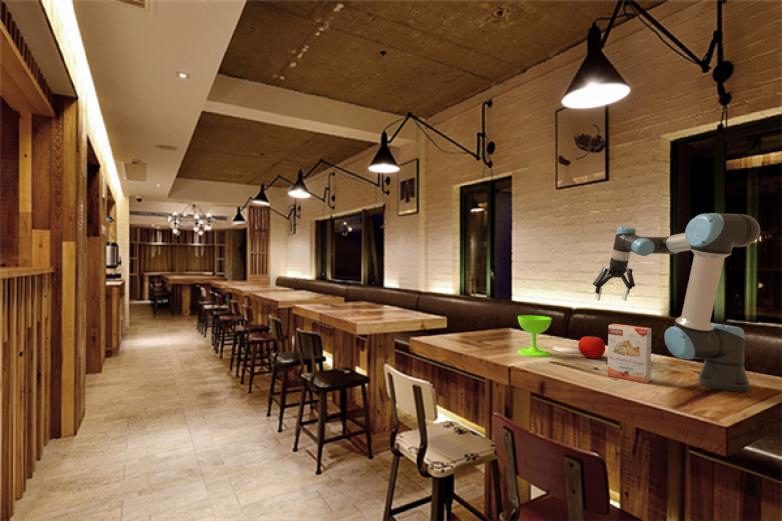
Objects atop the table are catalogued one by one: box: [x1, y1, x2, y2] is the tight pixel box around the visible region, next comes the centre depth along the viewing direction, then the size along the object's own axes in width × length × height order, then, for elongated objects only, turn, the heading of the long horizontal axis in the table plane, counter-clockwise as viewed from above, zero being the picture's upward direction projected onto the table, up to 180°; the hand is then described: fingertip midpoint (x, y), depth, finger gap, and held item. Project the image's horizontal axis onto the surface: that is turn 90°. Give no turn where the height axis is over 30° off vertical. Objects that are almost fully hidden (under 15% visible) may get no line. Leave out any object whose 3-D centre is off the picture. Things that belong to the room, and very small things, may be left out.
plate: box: [552, 345, 582, 355], centre depth 214 cm, size 16×16×1 cm
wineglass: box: [517, 315, 552, 358], centre depth 206 cm, size 16×16×18 cm
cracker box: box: [607, 323, 652, 385], centre depth 163 cm, size 14×6×21 cm, turn 43°
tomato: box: [577, 335, 606, 359], centre depth 199 cm, size 11×12×10 cm
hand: (610, 299), depth 202 cm, fingers open, 13 cm apart
